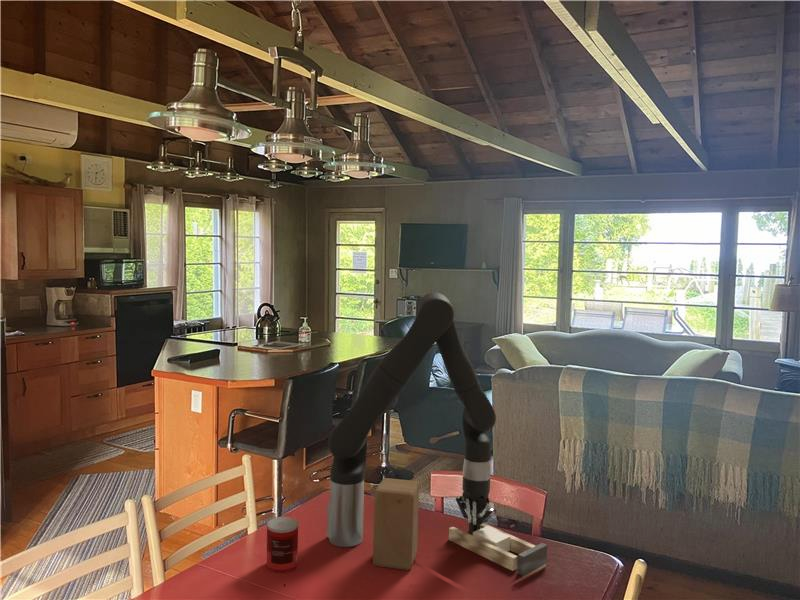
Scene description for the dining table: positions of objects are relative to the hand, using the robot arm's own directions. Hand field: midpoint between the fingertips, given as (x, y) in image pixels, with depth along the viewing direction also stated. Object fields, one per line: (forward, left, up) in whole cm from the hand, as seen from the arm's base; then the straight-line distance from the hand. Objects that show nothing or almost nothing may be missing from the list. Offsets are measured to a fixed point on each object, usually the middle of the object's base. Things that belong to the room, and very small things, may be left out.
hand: (474, 535), depth 175 cm
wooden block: (-7, -23, -2) cm, 24 cm away
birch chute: (+6, 0, -2) cm, 7 cm away
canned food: (-23, -47, -2) cm, 52 cm away
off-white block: (+6, 0, -1) cm, 6 cm away
